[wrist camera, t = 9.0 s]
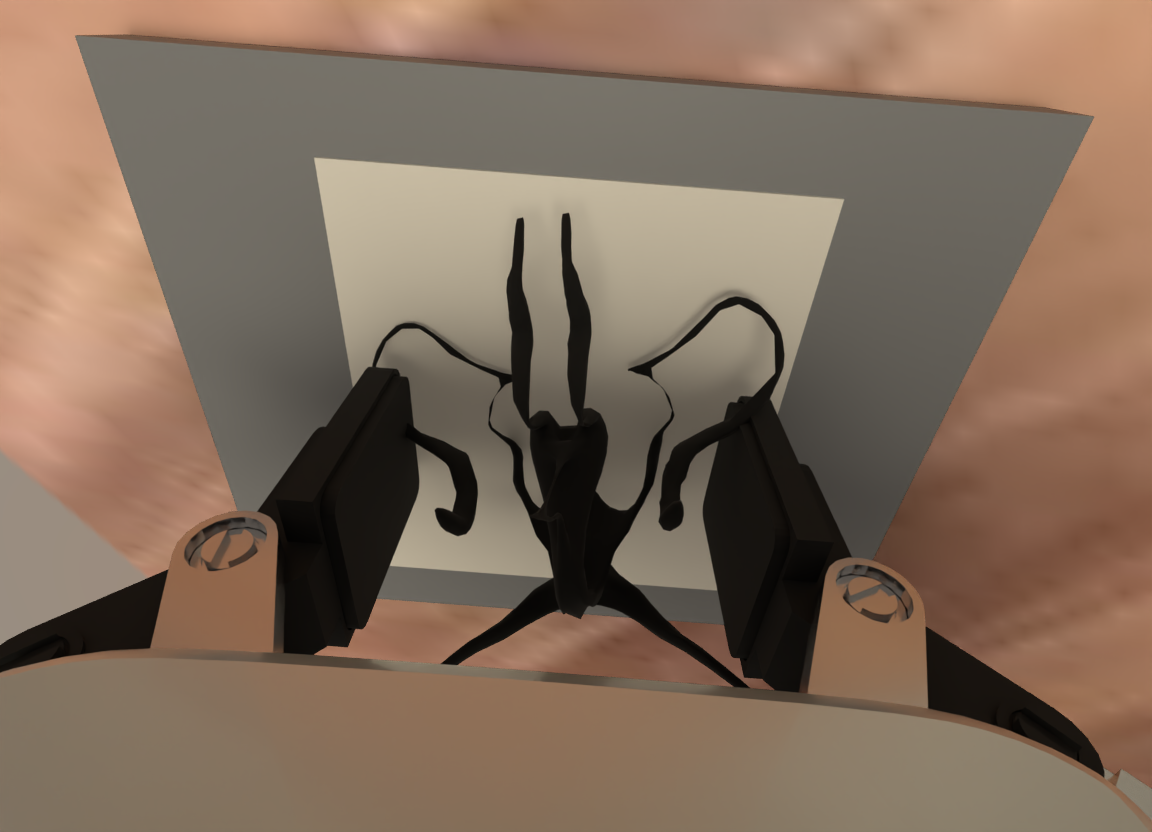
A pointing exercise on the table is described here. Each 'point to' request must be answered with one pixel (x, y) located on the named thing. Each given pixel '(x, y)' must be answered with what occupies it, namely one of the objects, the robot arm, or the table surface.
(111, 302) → the table surface
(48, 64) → the table surface
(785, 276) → the grey picture mat
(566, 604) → the creature
